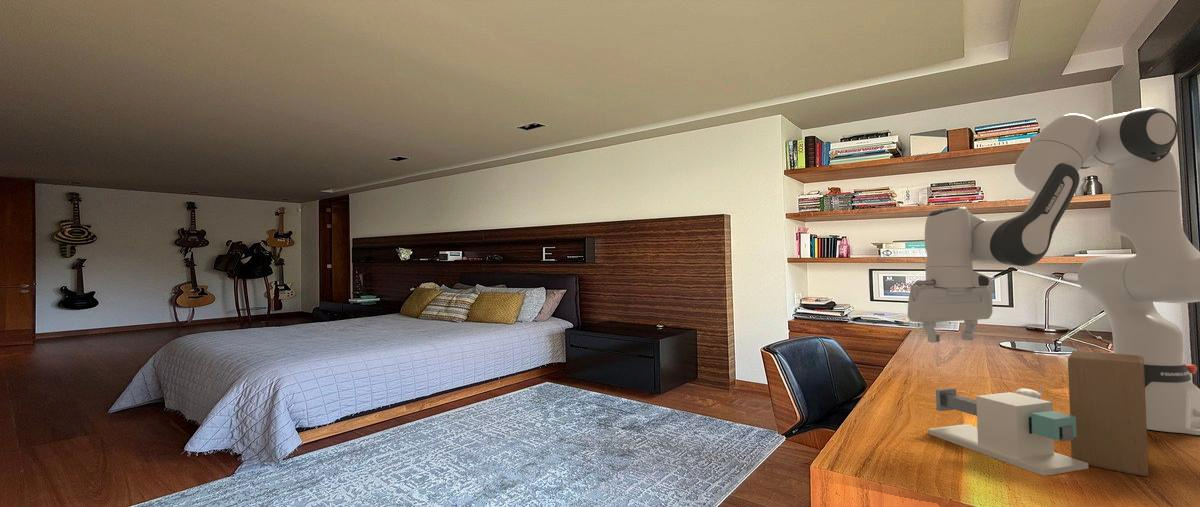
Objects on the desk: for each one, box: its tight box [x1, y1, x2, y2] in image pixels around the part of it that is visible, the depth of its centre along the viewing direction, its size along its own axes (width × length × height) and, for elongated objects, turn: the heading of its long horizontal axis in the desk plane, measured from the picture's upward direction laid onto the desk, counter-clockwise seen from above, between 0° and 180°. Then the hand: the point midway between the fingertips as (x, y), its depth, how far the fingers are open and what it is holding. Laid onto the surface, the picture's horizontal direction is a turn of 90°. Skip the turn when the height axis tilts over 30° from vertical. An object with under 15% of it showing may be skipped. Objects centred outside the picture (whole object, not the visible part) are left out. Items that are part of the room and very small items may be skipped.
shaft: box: [935, 387, 1073, 442], centre depth 105 cm, size 5×25×5 cm, turn 14°
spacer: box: [1031, 410, 1077, 441], centre depth 95 cm, size 5×4×4 cm
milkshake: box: [1014, 384, 1044, 399], centre depth 116 cm, size 5×5×10 cm
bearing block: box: [927, 391, 1089, 477], centre depth 105 cm, size 11×24×11 cm, turn 14°
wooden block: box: [1067, 350, 1150, 477], centre depth 98 cm, size 10×10×20 cm
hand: (950, 341), depth 115 cm, fingers open, 8 cm apart
